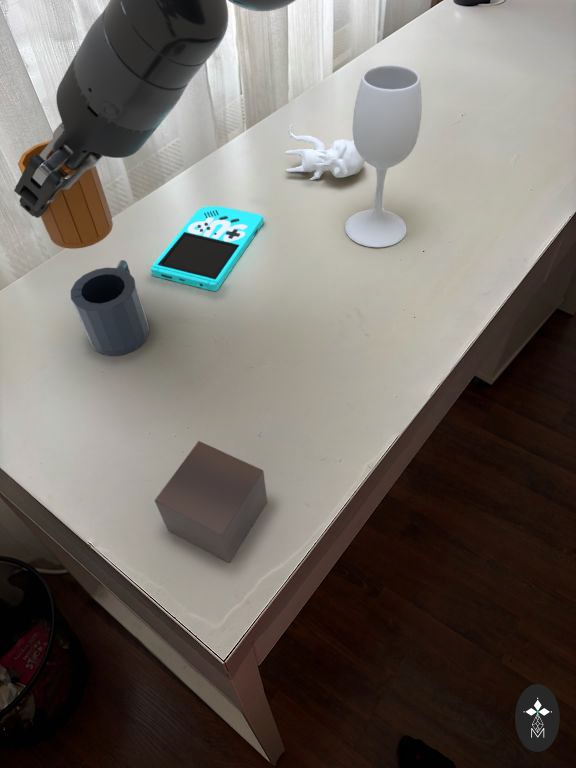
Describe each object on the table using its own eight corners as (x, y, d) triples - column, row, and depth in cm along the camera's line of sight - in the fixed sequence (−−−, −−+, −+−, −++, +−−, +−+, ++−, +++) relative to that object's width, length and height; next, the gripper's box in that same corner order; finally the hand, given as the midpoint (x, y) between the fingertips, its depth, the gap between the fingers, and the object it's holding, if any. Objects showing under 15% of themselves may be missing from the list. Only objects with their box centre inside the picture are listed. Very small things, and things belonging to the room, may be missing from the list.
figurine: (278, 123, 88) (355, 116, 84) (301, 127, 96) (373, 122, 91) (280, 181, 91) (355, 178, 86) (303, 181, 99) (372, 178, 94)
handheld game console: (265, 222, 86) (265, 214, 85) (217, 293, 77) (216, 285, 76) (204, 209, 88) (203, 201, 87) (150, 275, 79) (148, 268, 78)
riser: (229, 563, 54) (221, 535, 49) (167, 530, 56) (154, 500, 51) (267, 501, 58) (263, 470, 53) (207, 473, 60) (198, 440, 55)
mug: (139, 358, 70) (123, 313, 64) (81, 353, 71) (60, 307, 65) (162, 300, 76) (150, 253, 70) (109, 295, 77) (92, 249, 71)
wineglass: (410, 215, 86) (434, 63, 69) (401, 252, 81) (423, 98, 64) (352, 207, 87) (361, 57, 71) (339, 243, 82) (345, 90, 66)
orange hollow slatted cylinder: (85, 255, 58) (56, 183, 52) (36, 238, 60) (3, 166, 54) (125, 220, 61) (103, 147, 55) (78, 204, 63) (52, 133, 57)
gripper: (137, 5, 48) (66, 122, 60) (22, 83, 40) (-32, 200, 52) (204, 82, 51) (123, 179, 63) (109, 170, 42) (38, 261, 55)
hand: (53, 188), depth 57 cm, fingers closed on orange hollow slatted cylinder, 6 cm apart
